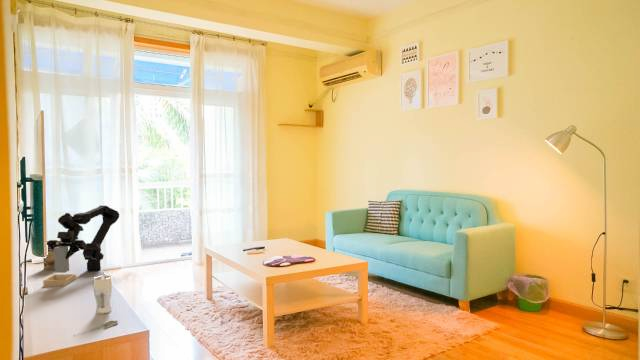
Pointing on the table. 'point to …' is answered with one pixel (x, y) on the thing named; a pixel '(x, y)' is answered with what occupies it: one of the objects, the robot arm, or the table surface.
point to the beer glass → (102, 294)
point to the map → (108, 324)
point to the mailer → (60, 280)
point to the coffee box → (50, 259)
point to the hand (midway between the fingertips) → (61, 258)
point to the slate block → (61, 259)
